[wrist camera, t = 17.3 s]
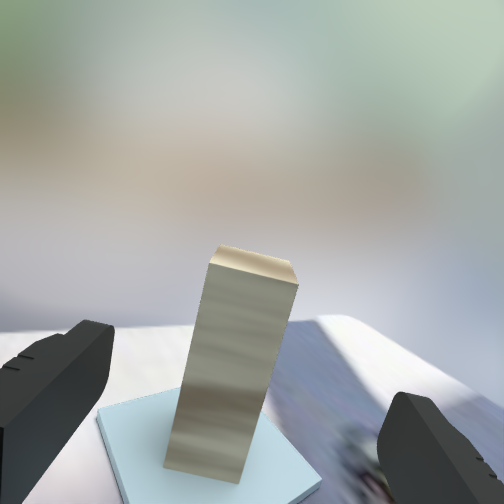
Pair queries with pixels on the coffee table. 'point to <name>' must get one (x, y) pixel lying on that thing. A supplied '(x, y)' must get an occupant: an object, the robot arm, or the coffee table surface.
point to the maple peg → (230, 362)
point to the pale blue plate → (188, 485)
